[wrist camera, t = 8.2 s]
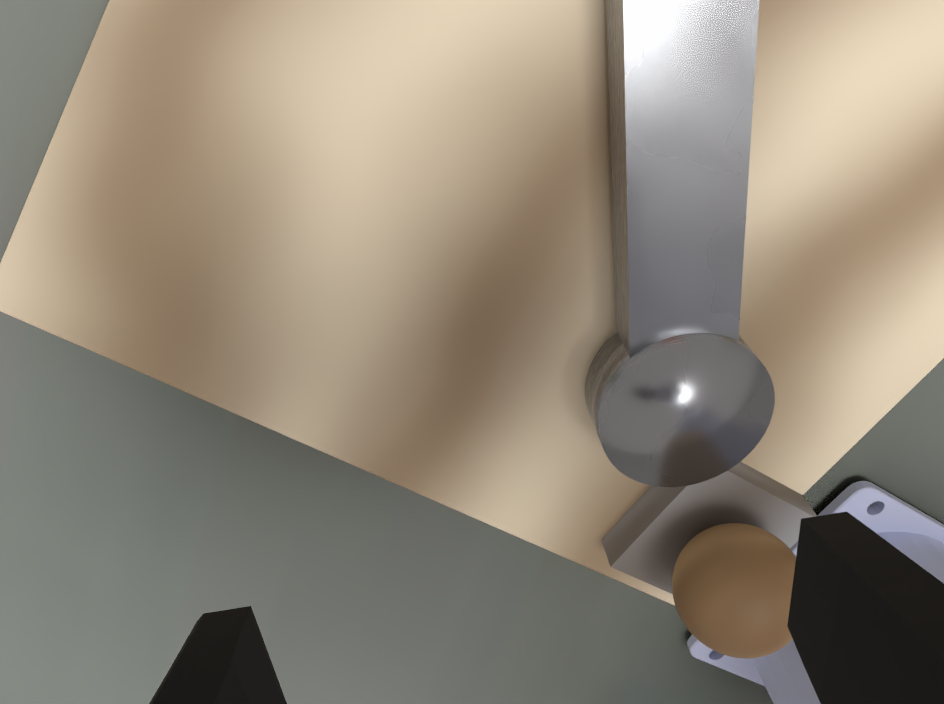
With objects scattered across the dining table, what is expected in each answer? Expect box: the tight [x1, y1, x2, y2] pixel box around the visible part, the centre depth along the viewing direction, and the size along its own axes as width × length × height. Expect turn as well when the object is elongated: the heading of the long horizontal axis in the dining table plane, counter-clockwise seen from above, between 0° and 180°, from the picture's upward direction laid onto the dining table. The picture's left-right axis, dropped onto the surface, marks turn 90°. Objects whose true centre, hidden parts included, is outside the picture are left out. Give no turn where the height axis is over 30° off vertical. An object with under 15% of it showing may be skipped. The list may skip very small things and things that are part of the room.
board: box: [0, 0, 944, 659], centre depth 15 cm, size 20×22×5 cm
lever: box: [585, 0, 775, 487], centre depth 14 cm, size 16×4×6 cm, turn 7°
